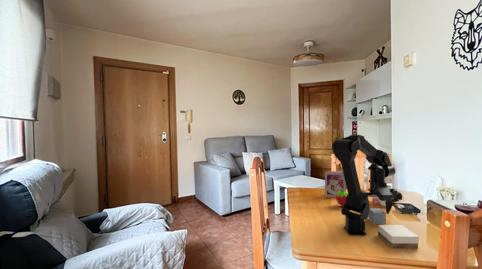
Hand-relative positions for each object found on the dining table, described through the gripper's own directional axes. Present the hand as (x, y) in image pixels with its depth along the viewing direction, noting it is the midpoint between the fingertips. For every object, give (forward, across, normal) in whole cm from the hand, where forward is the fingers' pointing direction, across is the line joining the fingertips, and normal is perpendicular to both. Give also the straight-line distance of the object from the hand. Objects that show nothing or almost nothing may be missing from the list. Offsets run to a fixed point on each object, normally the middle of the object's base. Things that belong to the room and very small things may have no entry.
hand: (376, 213), depth 103 cm
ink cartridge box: (+4, +14, +22) cm, 26 cm away
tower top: (+2, -2, -18) cm, 18 cm away
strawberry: (+4, -8, +18) cm, 20 cm away
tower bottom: (+4, -2, -18) cm, 18 cm away
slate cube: (+4, 0, 0) cm, 4 cm away
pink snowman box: (+4, -6, +36) cm, 37 cm away
